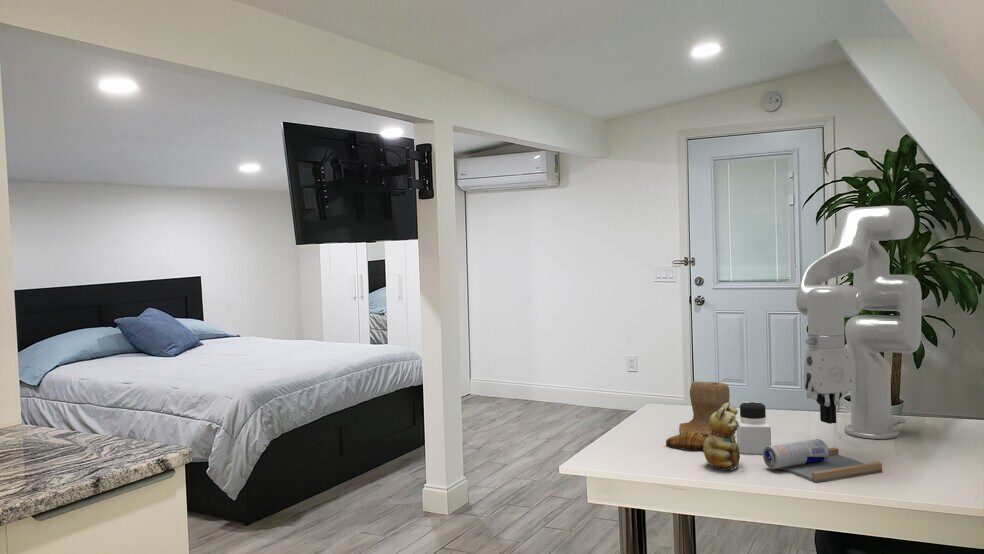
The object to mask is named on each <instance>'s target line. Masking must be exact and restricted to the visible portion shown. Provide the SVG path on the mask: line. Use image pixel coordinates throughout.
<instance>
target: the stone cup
mask: <svg viewBox="0 0 984 554" xmlns="http://www.w3.org/2000/svg"><path fill="white" fill-rule="evenodd" d="M689 397H690V402H691V408H692V414H693V416H692V419H691V420H690V421H688V422H682V423H679V426H678V432H679V435H681V434H683V433H685V432H688V431H691V430H692V431H695V432H697V433H699V434H701V435H702V436H705V437H708V436H709V435H710V431H711V430H712V429H711V427H710V425H709V419H710V417H711V415H712V414H713V413H714V412H717V411H718V410H719V409H720V408H721V407H722V405H723V404H725V403H730V387H729V385H728V384H727V383H725V382H719V381H718V382H716V381H699V380H694V381H692V382H691V385H690V388H689ZM735 434H736V431H735V432H734V433H733V436H734V435H735Z"/></svg>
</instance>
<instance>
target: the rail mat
mask: <svg viewBox="0 0 984 554" xmlns="http://www.w3.org/2000/svg"><path fill="white" fill-rule="evenodd" d="M828 448H829V447H828ZM839 451H840V450H839V448H837V447H831V448H829V456H828V458H827V460H825V461H822V462H816V463H809V464H803V465H796V466H790V467H783V468H781V469H780V470H782V471H785V470H786V472H788V473H790V474H793V475H796V476H798V477H800V478H803V479H805V480H807V481H810V482H813V483H814V484H815V483H816V484H819V483H822V482H829V481H830V482H831V481H837V480H841V479H849V478H854V477H859V476H860V477H861V476H866V475H873V474H878V473H879V474H880V473H883V463H882V462H881V461H875V462H874V461H873V462H867V463H865V462H861V461H858V460H855V459H853V458H850V457H847V456H844V455H841V454H840V453H839Z"/></svg>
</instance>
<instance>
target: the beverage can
mask: <svg viewBox="0 0 984 554" xmlns="http://www.w3.org/2000/svg"><path fill="white" fill-rule="evenodd" d="M828 456H829V446H828V445H827V444H826V442H825V441H823V440H822V439H821V438H820V439H817V438H815V439H809V440H804V441H795V442H788V443H781V444H774V445H771V446H767V447H765V448H764V450H763V454H762V459H763V461H764V464H765V466H766V467H767V468H768V469H772V470H776V469H780V468H783V467H790V466H796V465H803V464H809V463H816V462H822V461H825V460H827V458H828Z"/></svg>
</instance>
